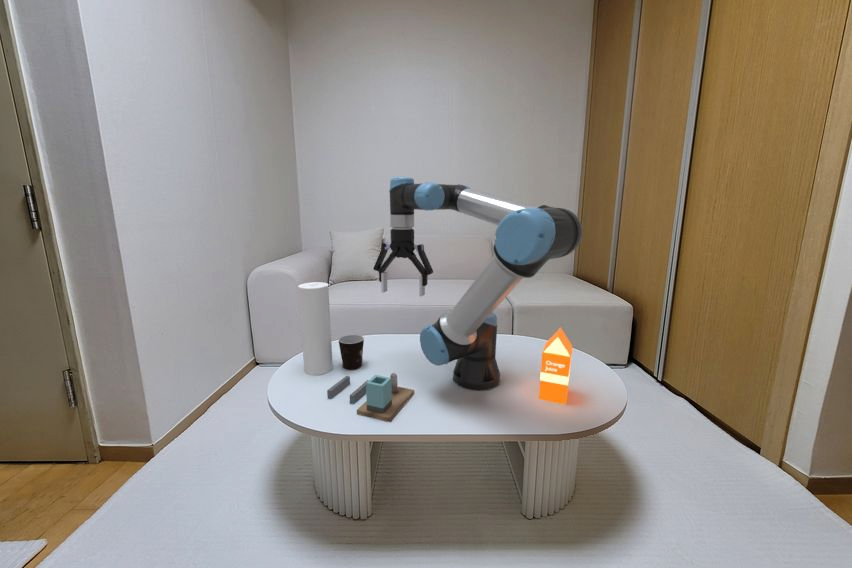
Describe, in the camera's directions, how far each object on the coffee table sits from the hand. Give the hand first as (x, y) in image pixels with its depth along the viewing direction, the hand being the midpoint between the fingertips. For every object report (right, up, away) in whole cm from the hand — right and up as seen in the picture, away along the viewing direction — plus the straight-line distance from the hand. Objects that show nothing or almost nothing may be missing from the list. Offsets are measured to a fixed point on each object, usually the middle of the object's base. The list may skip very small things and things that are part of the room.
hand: (402, 293), depth 122 cm
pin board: (-4, -31, -16) cm, 35 cm away
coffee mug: (-19, -26, +7) cm, 33 cm away
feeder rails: (-15, -30, -10) cm, 35 cm away
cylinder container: (-29, -26, +6) cm, 40 cm away
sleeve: (-5, -31, -20) cm, 37 cm away
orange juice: (+46, -30, -11) cm, 56 cm away
